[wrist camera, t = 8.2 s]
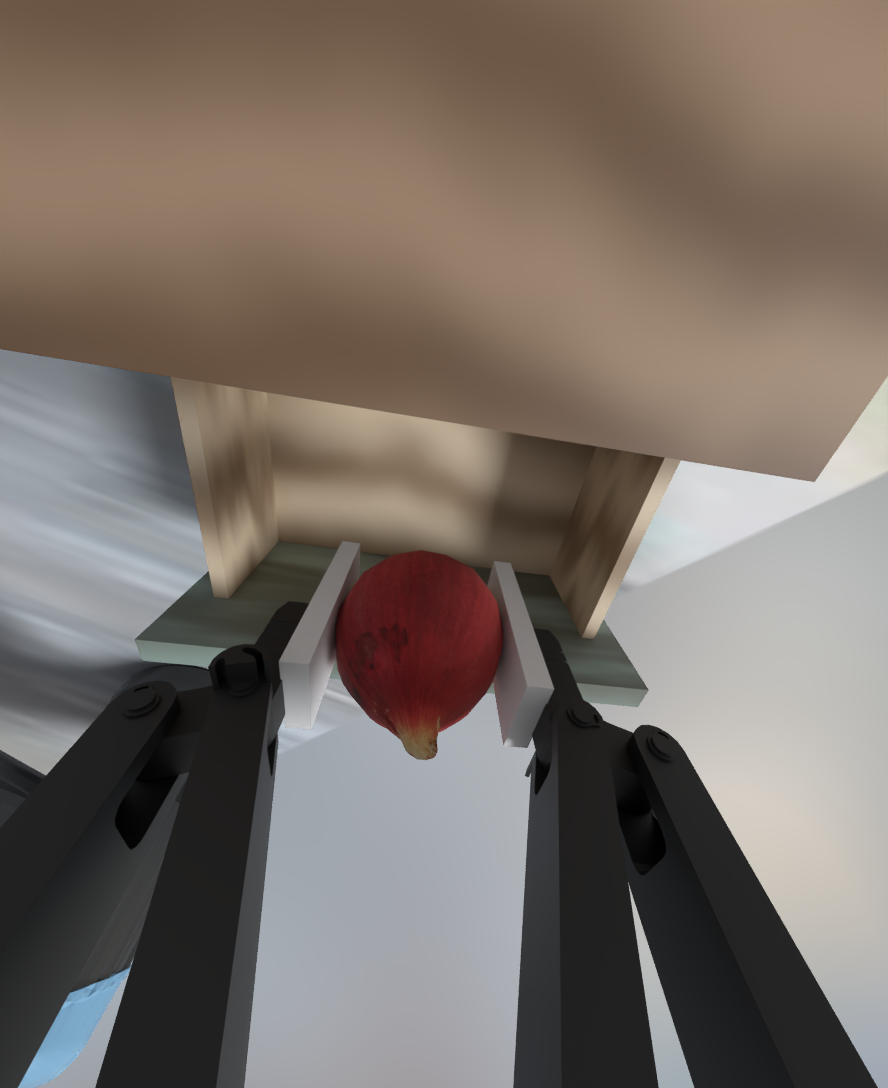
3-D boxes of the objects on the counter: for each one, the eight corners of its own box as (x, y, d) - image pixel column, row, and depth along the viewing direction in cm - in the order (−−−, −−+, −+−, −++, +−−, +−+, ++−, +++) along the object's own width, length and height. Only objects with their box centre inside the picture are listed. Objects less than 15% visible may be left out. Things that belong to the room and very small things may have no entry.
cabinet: (623, 419, 24) (814, 481, 12) (242, 354, 22) (-6, 348, 10) (731, 139, 18) (1393, -357, 5) (205, 4, 15) (-696, -1375, 3)
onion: (359, 618, 17) (299, 807, 10) (360, 509, 14) (278, 661, 7) (477, 629, 17) (502, 819, 10) (500, 525, 14) (557, 685, 7)
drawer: (560, 598, 30) (626, 724, 20) (257, 561, 28) (150, 682, 18) (632, 416, 23) (795, 462, 13) (233, 346, 21) (25, 333, 10)
